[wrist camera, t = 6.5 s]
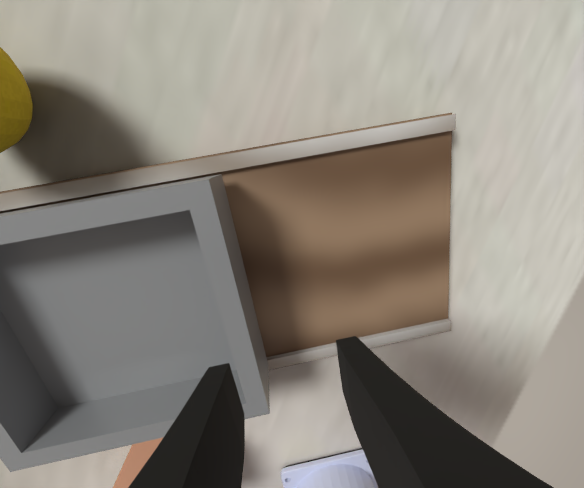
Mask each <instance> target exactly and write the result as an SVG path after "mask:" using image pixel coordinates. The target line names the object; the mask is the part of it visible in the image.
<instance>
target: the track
mask: <svg viewBox="0 0 584 488" xmlns="http://www.w3.org/2000/svg"><path fill="white" fill-rule="evenodd" d="M455 127H456V114H452V113H447V114H442V115H436V116H430V117H425V118H419V119H413V120H407V121H402V122H396V123H390V124H385V125H379V126H373V127H368V128H362V129H356V130H350V131H345V132H339V133H333V134H328V135H322V136H316V137H310V138H305V139H299V140H293V141H288V142H282V143H276V144H270V145H265V146H259V147H253V148H248V149H242V150H236V151H231V152H225V153H219V154H213V155H208V156H202V157H196V158H191V159H185V160H179V161H173V162H168V163H162V164H156V165H151V166H145V167H139V168H133V169H128V170H122V171H116V172H111V173H105V174H99V175H93V176H88V177H82V178H76V179H71V180H65V181H59V182H54V183H48V184H42V185H36V186H31V187H25V188H19V189H14V190H8V191H2V192H0V214H1V213H7V212H12V211H18V210H24V209H29V208H35V207H40V206H46V205H52V204H57V203H63V202H68V201H74V200H80V199H85V198H91V197H96V196H102V195H107V194H113V193H119V192H124V191H130V190H135V189H141V188H147V187H152V186H158V185H163V184H169V183H174V182H180V181H186V180H191V179H197V178H202V177H208V176H214V175H219V174H222V177H223V182H224V186H225V190H226V194H227V198H228V202H229V206H230V210H231V214H232V218H233V223H234V227H235V231H236V235H237V239H238V243H239V247H240V251H241V255H242V259H243V264H244V268H245V272H246V276H247V280H248V284H249V288H250V292H251V296H252V300H253V305H254V309H255V313H256V317H257V321H258V325H259V329H260V333H261V337H262V341H263V346H264V350H265V354H266V358H267V362H268V370H272V369H277V368H281V367H286V366H290V365H295V364H300V363H304V362H309V361H313V360H318V359H323V358H327V357H332V356H337V355H338V353H337V345H336V340H338V339H343V338H348V337H352V336H356V337H357V338H359V339H360V340H361V341H362V342H363V343H364V344H365V345H366V346H367V347H368V348H373V347H378V346H383V345H387V344H392V343H396V342H401V341H406V340H410V339H415V338H420V337H424V336H429V335H433V334H438V333H443V332H447V331H451V321H450V320H449V319H448V295H449V244H450V193H451V142H452V130H455Z"/></svg>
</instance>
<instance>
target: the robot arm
mask: <svg viewBox="0 0 584 488" xmlns="http://www.w3.org/2000/svg"><path fill="white" fill-rule="evenodd" d="M336 345H337V353H338V360H339V367H340V374H341V381H342V388H343V393H344V397H345V400H346V403H347V407H348V410H349V413H350V416H351V420H352V423H353V426H354V429H355V431H356V434H357V436H358V439H359V441H360V444H361V446H362V448H363V449H361V450H357V451H353V452H348V453H344V454H340V455H336V456H331V457H327V458H323V459H319V460H314V461H310V462H306V463H302V464H297V465H293V466H289V467H285V468H283V469H282V470H281V479H282V483H283V486H284V488H378V487H379V488H553V487H552V486H550V485H548V484H547V483H545V482H543V481H542V480H540V479H538V478H537V477H535V476H534V475H532V474H531V473H529V472H528V471H526V470H525V469H523V468H522V467H520V466H518V465H517V464H515V463H514V462H512V461H511V460H509V459H508V458H506V457H505V456H503V455H502V454H500V453H499V452H497V451H496V450H494V449H493V448H492V447H490V446H489V445H487V444H486V443H484V442H483V441H481V440H480V439H479V438H477V437H476V436H474V435H473V434H471V433H470V432H469V431H467V430H466V429H464V428H463V427H462V426H460V425H459V424H458V423H456V422H455V421H454V420H452V419H451V418H450V417H448V416H447V415H446V414H444V413H443V412H442V411H441V410H439V409H438V408H437V407H435V406H434V405H433V404H432V403H430V402H429V401H428V400H427V399H425V398H424V397H423V396H422V395H420V394H419V393H418V392H417V391H415V390H414V389H413V388H412V387H411V386H410V385H408V384H407V383H406V382H405V381H404V380H403V379H401V378H400V377H399V376H398V375H397V374H396V373H395V372H393V371H392V370H391V369H390V368H389V367H388V366H387V365H386V364H385V363H384V362H382V361H381V360H380V359H379V358H378V357H377V356H376V355H375V354H374V353H373V352H372V351H371V350H370V349H369V348H368V347H367V346H366V345H365V344H364V343H363V342H362V341H361V340H360V339H359V338H357V337H356V336H352V337H348V338H343V339H338V340H336ZM243 462H244V411H243V407H242V404H241V401H240V397H239V394H238V391H237V387H236V384H235V381H234V377H233V374H232V371H231V367H230V364H229V363H226V364H222V365H217V366H212V367H209V368H208V369H207V371H206V372H205V374H204V375H203V377H202V378H201V380H200V382H199V383H198V385H197V386H196V388H195V390H194V391H193V393H192V394H191V396H190V398H189V399H188V401H187V402H186V404H185V406H184V407H183V409H182V410H181V412H180V413H179V415H178V416H177V418H176V419H175V421H174V422H173V424H172V425H171V427H170V429H169V430H168V432H167V433H166V435H165V436H164V438H163V439H162V441H161V442H160V444H159V445H158V446H157V448H156V449H155V451H154V452H153V454H152V455H151V456H150V458H149V459H148V461H147V462H146V463H145V465H144V466H143V468H142V469H141V470H140V472H139V473H138V475H137V476H136V477H135V479H134V480H133V482H132V483H131V484H130V486H129V487H128V488H241V482H242V472H243ZM377 485H378V487H377Z"/></svg>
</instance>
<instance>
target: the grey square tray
mask: <svg viewBox="0 0 584 488" xmlns="http://www.w3.org/2000/svg"><path fill="white" fill-rule="evenodd" d="M226 363H229V364H230V367H231V371H232V374H233V377H234V381H235V384H236V387H237V391H238V394H239V397H240V401H241V404H242V407H243V411H244V419H248V418H252V417H257V416H261V415H265V414H270V408H269V376H268V362H267V358H266V354H265V350H264V346H263V341H262V337H261V333H260V329H259V325H258V321H257V317H256V313H255V309H254V305H253V300H252V296H251V292H250V288H249V284H248V280H247V276H246V272H245V268H244V264H243V259H242V255H241V251H240V247H239V243H238V239H237V235H236V231H235V227H234V223H233V218H232V214H231V210H230V206H229V202H228V198H227V194H226V190H225V186H224V182H223V177H222V174H219V175H214V176H208V177H202V178H197V179H191V180H186V181H180V182H174V183H169V184H163V185H158V186H152V187H147V188H141V189H135V190H130V191H124V192H119V193H113V194H107V195H102V196H96V197H91V198H85V199H80V200H74V201H68V202H63V203H57V204H52V205H46V206H40V207H35V208H29V209H24V210H18V211H12V212H7V213H1V214H0V459H1V460H2V461H3V463H4V464H5V465H6V467H7V468H8V469H9V471H10V472H12V471H16V470H21V469H25V468H30V467H34V466H39V465H43V464H48V463H52V462H56V461H61V460H65V459H70V458H74V457H79V456H83V455H88V454H92V453H96V452H101V451H105V450H110V449H114V448H119V447H123V446H128V445H132V444H136V443H141V442H145V441H150V440H154V439H159V438H163V437H164V436H165V435H166V433H167V432H168V430H169V429H170V427H171V425H172V424H173V422H174V421H175V419H176V418H177V416H178V415H179V413H180V412H181V410H182V409H183V407H184V406H185V404H186V402H187V401H188V399H189V398H190V396H191V394H192V393H193V391H194V390H195V388H196V386H197V385H198V383H199V382H200V380H201V378H202V377H203V375H204V374H205V372H206V371H207V369H208V368H209V367H212V366H217V365H222V364H226Z"/></svg>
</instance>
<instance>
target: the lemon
mask: <svg viewBox="0 0 584 488" xmlns="http://www.w3.org/2000/svg"><path fill="white" fill-rule="evenodd" d="M32 109H33V104H32V99H31V94H30V90H29V88H28V86H27V83H26V81H25V79H24V77H23V75H22V73H21V72H20V70H19V69H18V68H17V66H16V65H15V64H14V62H13V61H12V59H11V58H10V57H9V55H8V54H7V53H6V52H5V51H4V50H3V49H2V48H0V153H1V152H3V151H5V150H6V149H8V148H10V147H11V146H13V145H14V144H16V143H17V142H18V141H19V140H20V139H21V138H22V137H23V135H24V134H25V133H26V132H27V130H28V128H29V125H30V123H31V120H32Z"/></svg>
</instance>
